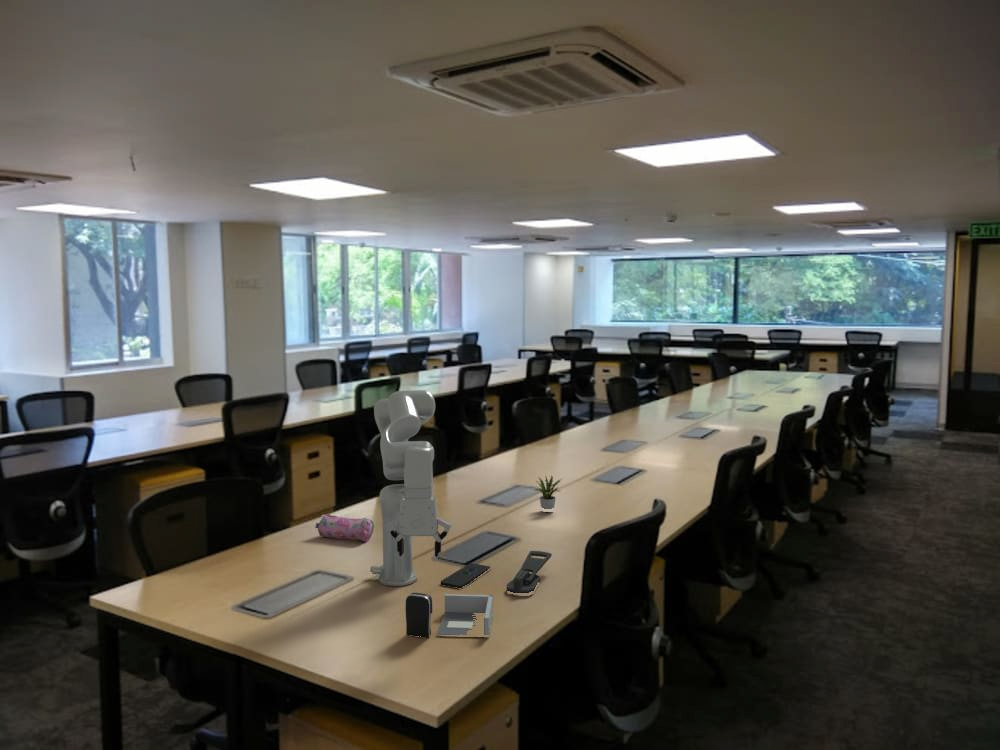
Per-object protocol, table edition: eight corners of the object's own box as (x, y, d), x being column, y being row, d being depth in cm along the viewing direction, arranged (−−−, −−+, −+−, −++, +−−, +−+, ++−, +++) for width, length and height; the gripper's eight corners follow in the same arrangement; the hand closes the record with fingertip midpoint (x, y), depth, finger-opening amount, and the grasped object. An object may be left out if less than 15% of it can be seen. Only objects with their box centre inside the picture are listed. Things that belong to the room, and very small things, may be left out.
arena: (437, 636, 199) (437, 616, 199) (445, 612, 215) (445, 593, 214) (488, 638, 198) (488, 618, 198) (492, 613, 214) (492, 595, 214)
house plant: (565, 517, 314) (566, 479, 313) (533, 516, 315) (533, 479, 313) (563, 508, 328) (564, 472, 327) (532, 507, 329) (533, 471, 327)
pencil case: (314, 539, 283) (314, 516, 282) (328, 532, 292) (327, 510, 291) (363, 545, 276) (363, 522, 275) (375, 538, 285) (375, 515, 284)
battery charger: (434, 633, 201) (434, 592, 200) (428, 639, 198) (428, 598, 196) (410, 630, 203) (410, 590, 202) (405, 635, 200) (404, 595, 199)
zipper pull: (554, 552, 248) (530, 577, 225) (553, 571, 249) (530, 598, 226) (529, 549, 252) (502, 573, 228) (529, 568, 252) (502, 594, 229)
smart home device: (491, 566, 250) (461, 585, 233) (491, 571, 250) (461, 590, 233) (470, 562, 254) (439, 581, 236) (470, 567, 254) (439, 586, 237)
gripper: (383, 495, 194) (384, 558, 195) (448, 496, 193) (449, 560, 194) (389, 488, 201) (390, 549, 202) (452, 489, 200) (452, 551, 201)
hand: (419, 554), depth 198 cm, fingers open, 9 cm apart
